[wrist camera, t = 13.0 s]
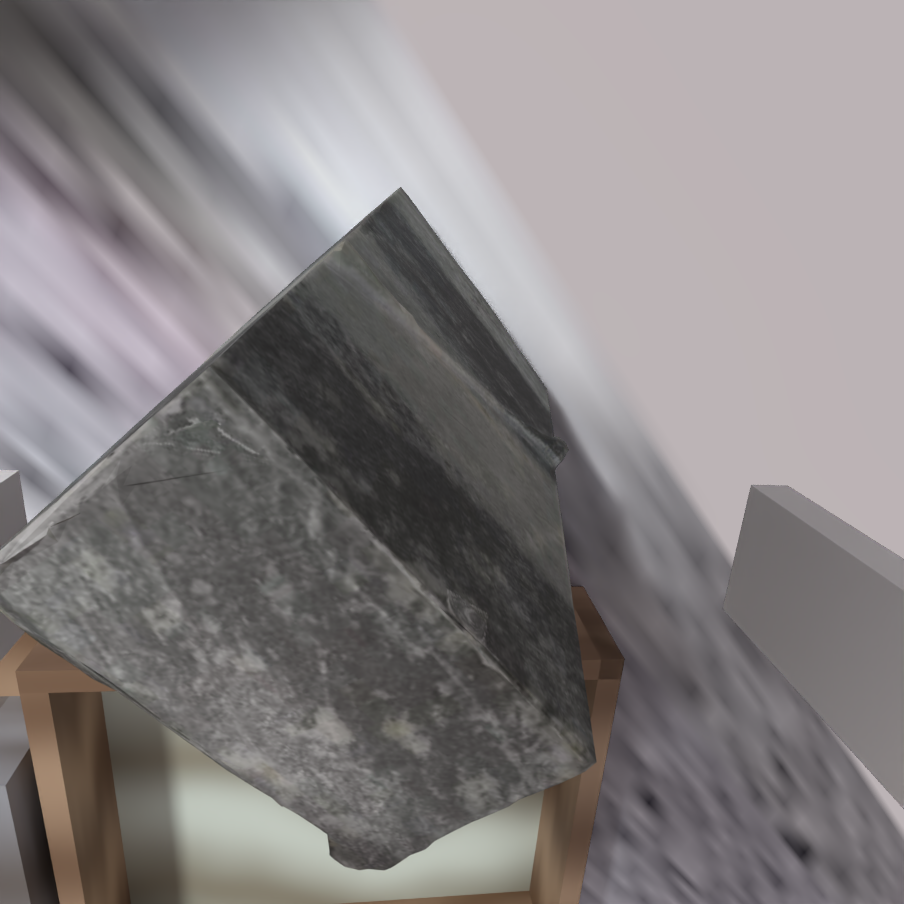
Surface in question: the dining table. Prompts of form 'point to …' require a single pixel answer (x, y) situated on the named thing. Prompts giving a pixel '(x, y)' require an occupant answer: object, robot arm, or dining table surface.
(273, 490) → the stone block
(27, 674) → the board
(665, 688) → the dining table surface
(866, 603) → the robot arm
